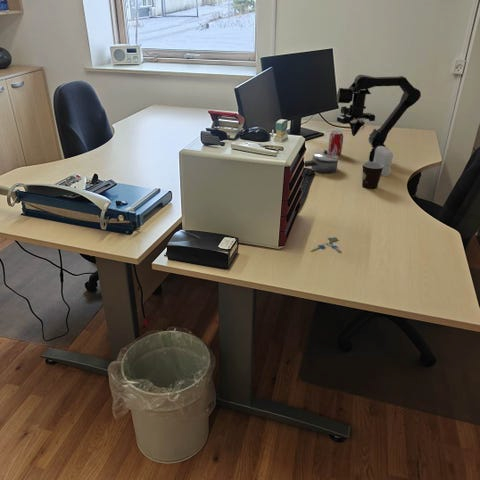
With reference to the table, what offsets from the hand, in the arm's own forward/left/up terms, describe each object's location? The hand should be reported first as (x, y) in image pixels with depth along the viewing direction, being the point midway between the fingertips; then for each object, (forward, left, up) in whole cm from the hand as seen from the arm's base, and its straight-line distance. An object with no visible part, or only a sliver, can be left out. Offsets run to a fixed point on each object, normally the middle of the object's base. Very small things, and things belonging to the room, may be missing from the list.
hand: (353, 135), depth 217 cm
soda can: (+10, -6, -13) cm, 18 cm away
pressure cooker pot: (+10, +20, -13) cm, 26 cm away
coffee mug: (-16, +28, -13) cm, 35 cm away
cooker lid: (+8, +18, -7) cm, 21 cm away
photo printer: (-17, +9, -13) cm, 23 cm away
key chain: (-17, +89, -14) cm, 92 cm away
